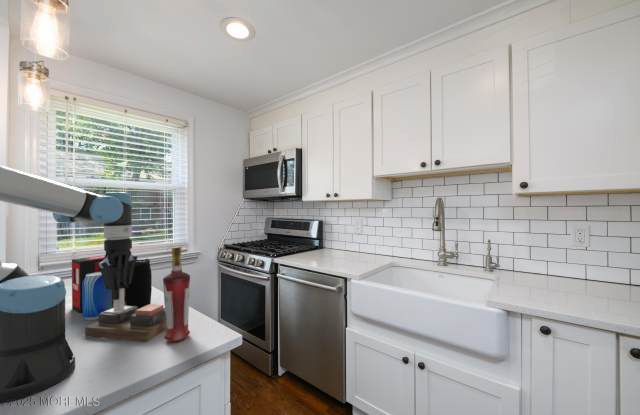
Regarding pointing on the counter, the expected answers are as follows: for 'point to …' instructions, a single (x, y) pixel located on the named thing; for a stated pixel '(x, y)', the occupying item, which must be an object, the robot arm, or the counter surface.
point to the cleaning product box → (78, 275)
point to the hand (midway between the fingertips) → (119, 308)
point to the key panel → (127, 326)
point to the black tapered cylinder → (140, 285)
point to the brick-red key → (149, 310)
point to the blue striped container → (95, 296)
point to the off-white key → (118, 310)
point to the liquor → (176, 299)
